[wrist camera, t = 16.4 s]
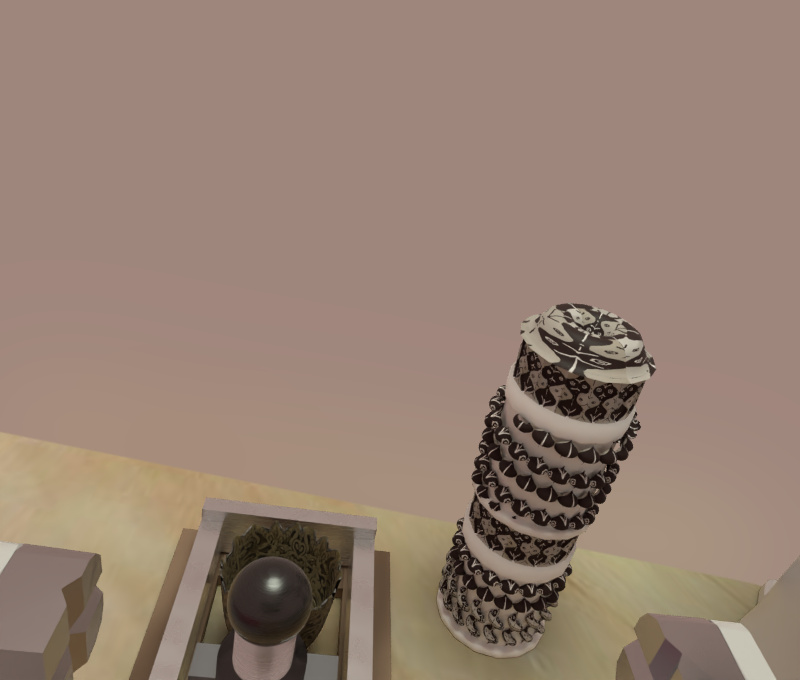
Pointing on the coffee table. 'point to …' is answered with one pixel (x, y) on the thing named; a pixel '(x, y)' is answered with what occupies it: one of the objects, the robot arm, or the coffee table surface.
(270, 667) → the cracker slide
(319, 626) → the cup
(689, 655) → the robot arm
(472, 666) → the coffee table surface
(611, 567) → the coffee table surface
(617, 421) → the decorative candle
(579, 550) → the coffee table surface
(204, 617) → the base
